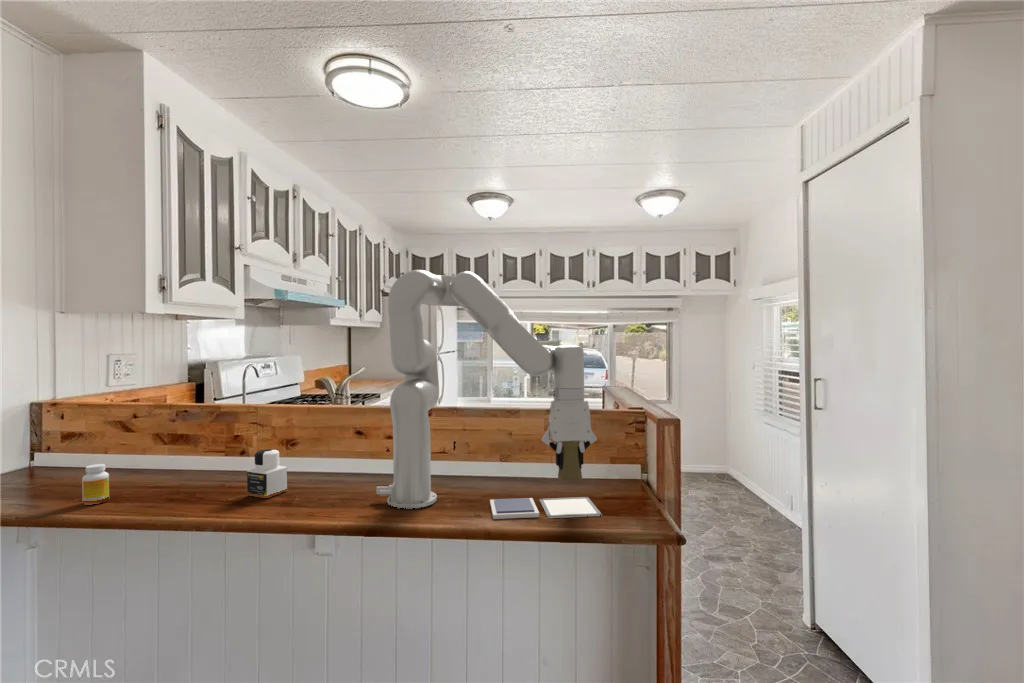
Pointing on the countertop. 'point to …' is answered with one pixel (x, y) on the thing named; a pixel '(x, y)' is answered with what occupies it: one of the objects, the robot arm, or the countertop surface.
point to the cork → (570, 462)
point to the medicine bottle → (267, 474)
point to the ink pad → (513, 508)
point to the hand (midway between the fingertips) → (569, 467)
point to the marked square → (569, 507)
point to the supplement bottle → (95, 483)
